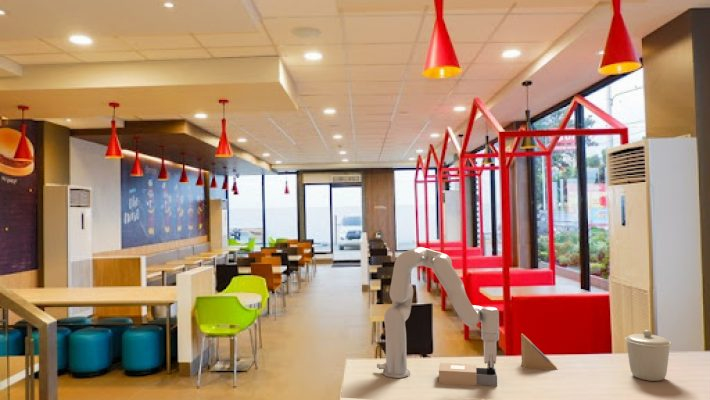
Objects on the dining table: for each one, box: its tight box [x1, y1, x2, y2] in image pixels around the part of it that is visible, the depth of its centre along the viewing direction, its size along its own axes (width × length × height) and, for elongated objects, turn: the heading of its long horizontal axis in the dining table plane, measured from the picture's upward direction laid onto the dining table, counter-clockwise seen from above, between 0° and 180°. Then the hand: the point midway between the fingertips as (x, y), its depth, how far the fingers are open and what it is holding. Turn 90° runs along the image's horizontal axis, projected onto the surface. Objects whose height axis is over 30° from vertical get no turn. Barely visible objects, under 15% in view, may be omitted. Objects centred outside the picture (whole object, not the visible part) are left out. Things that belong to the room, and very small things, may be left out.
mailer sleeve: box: [438, 362, 478, 386], centre depth 228 cm, size 16×11×6 cm
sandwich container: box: [520, 332, 558, 370], centre depth 247 cm, size 9×15×15 cm, turn 83°
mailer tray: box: [476, 367, 498, 387], centre depth 226 cm, size 15×9×4 cm, turn 78°
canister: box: [624, 329, 672, 382], centre depth 229 cm, size 18×18×21 cm
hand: (490, 377), depth 225 cm, fingers closed
